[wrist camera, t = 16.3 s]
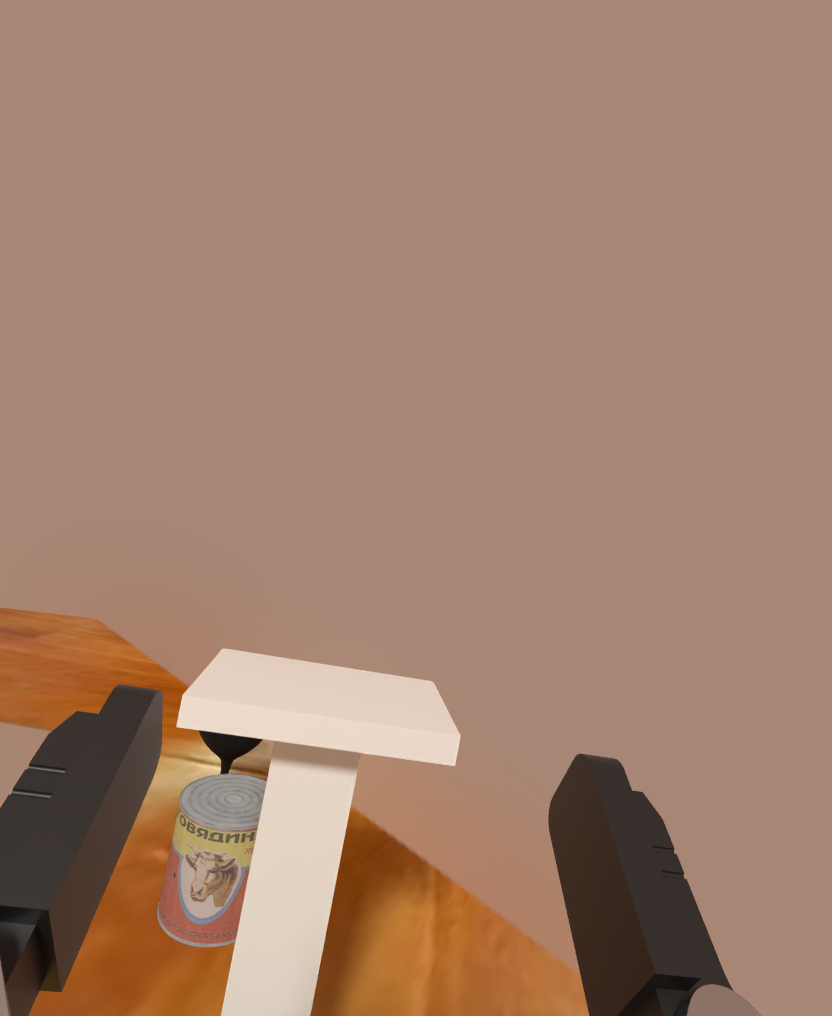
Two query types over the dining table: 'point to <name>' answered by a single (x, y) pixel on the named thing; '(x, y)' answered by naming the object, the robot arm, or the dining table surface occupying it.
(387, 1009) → the dining table surface
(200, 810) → the canned food
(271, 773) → the white i-beam pedestal
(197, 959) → the dining table surface
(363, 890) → the dining table surface
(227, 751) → the wine glass
